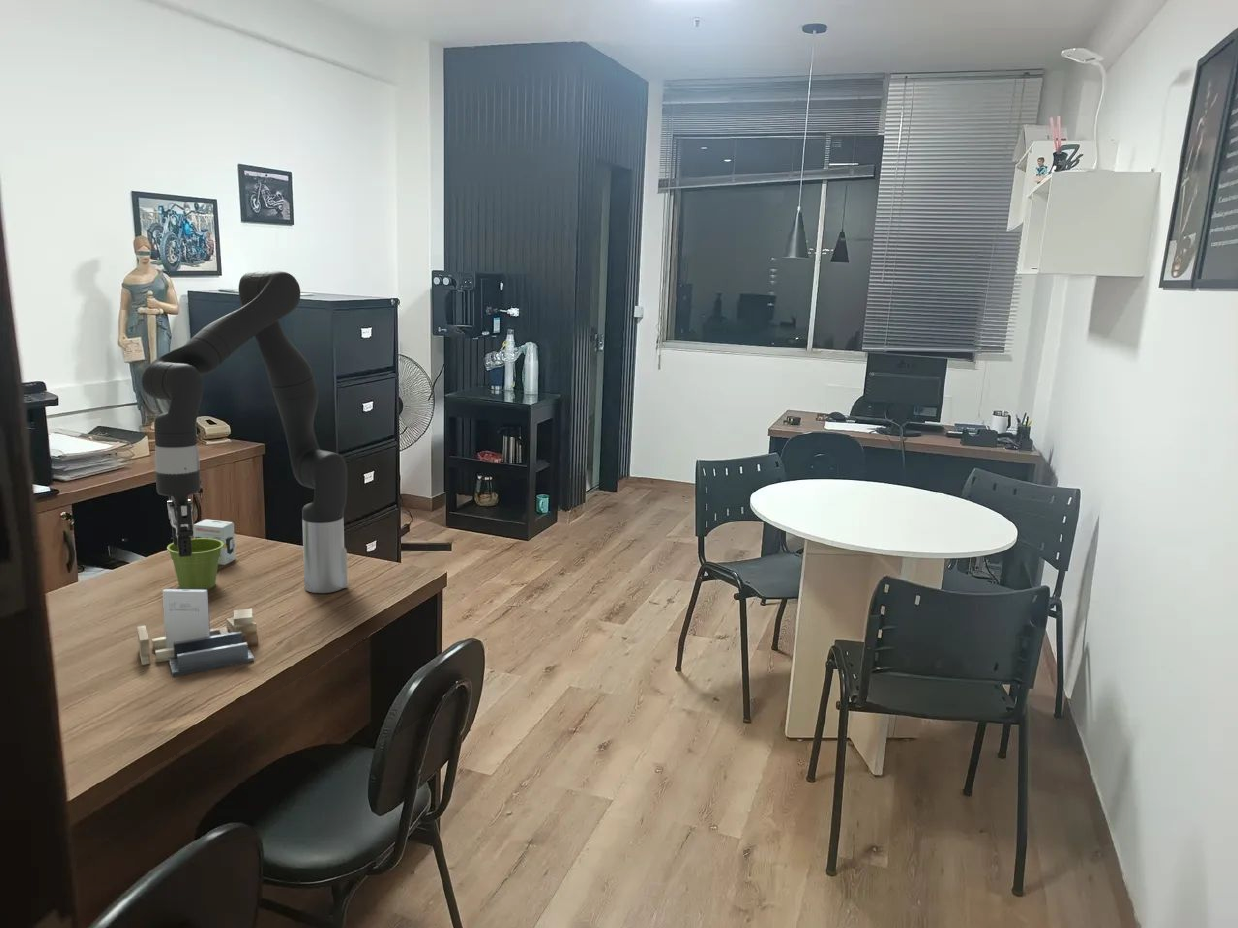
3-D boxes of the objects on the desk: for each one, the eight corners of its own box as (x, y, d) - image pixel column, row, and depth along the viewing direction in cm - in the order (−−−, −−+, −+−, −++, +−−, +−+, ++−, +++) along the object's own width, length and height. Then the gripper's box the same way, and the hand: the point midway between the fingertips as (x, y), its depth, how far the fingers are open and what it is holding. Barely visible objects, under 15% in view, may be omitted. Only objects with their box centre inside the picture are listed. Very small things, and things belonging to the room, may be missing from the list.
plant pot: (204, 602, 193) (202, 554, 191) (158, 597, 195) (154, 549, 193) (236, 585, 205) (234, 540, 202) (192, 580, 207) (189, 535, 204)
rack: (226, 635, 176) (225, 612, 175) (232, 648, 170) (231, 625, 169) (138, 650, 167) (137, 626, 166) (142, 664, 161) (140, 640, 160)
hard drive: (169, 647, 169) (165, 588, 167) (211, 647, 170) (208, 589, 168) (165, 650, 168) (161, 591, 165) (208, 651, 169) (205, 591, 166)
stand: (247, 647, 171) (246, 629, 170) (253, 661, 165) (253, 643, 164) (168, 661, 163) (167, 643, 162) (172, 676, 157) (171, 657, 157)
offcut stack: (251, 631, 179) (250, 605, 177) (258, 643, 173) (257, 617, 172) (226, 635, 176) (225, 609, 175) (232, 648, 170) (231, 621, 169)
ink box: (193, 569, 215) (191, 523, 212) (206, 563, 219) (203, 518, 217) (225, 572, 213) (222, 526, 211) (236, 566, 218) (234, 521, 216)
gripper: (204, 474, 158) (209, 557, 161) (194, 459, 169) (198, 538, 173) (159, 477, 154) (164, 562, 157) (151, 462, 165) (156, 542, 169)
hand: (182, 549), depth 165 cm, fingers open, 8 cm apart
